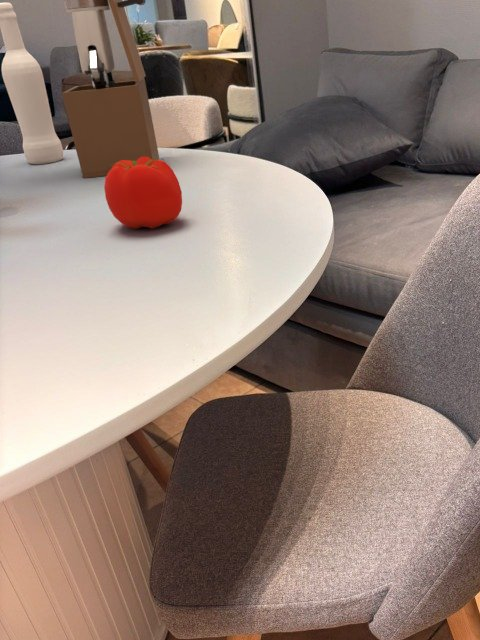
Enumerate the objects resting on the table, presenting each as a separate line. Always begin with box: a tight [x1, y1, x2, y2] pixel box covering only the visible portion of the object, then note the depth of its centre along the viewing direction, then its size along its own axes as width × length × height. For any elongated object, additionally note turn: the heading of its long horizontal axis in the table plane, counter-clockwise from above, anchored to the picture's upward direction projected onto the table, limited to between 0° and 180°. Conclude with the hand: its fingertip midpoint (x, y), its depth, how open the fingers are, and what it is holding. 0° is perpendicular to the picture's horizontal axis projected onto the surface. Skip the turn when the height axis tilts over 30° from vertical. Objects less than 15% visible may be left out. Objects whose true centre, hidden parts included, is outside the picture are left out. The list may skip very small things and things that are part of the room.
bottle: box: [0, 2, 64, 165], centre depth 134 cm, size 8×8×30 cm
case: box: [61, 78, 160, 179], centre depth 124 cm, size 14×14×15 cm
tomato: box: [103, 157, 183, 229], centre depth 87 cm, size 11×11×9 cm
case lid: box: [108, 0, 147, 83], centre depth 116 cm, size 14×14×5 cm
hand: (109, 110), depth 122 cm, fingers closed on bottle small, 6 cm apart
